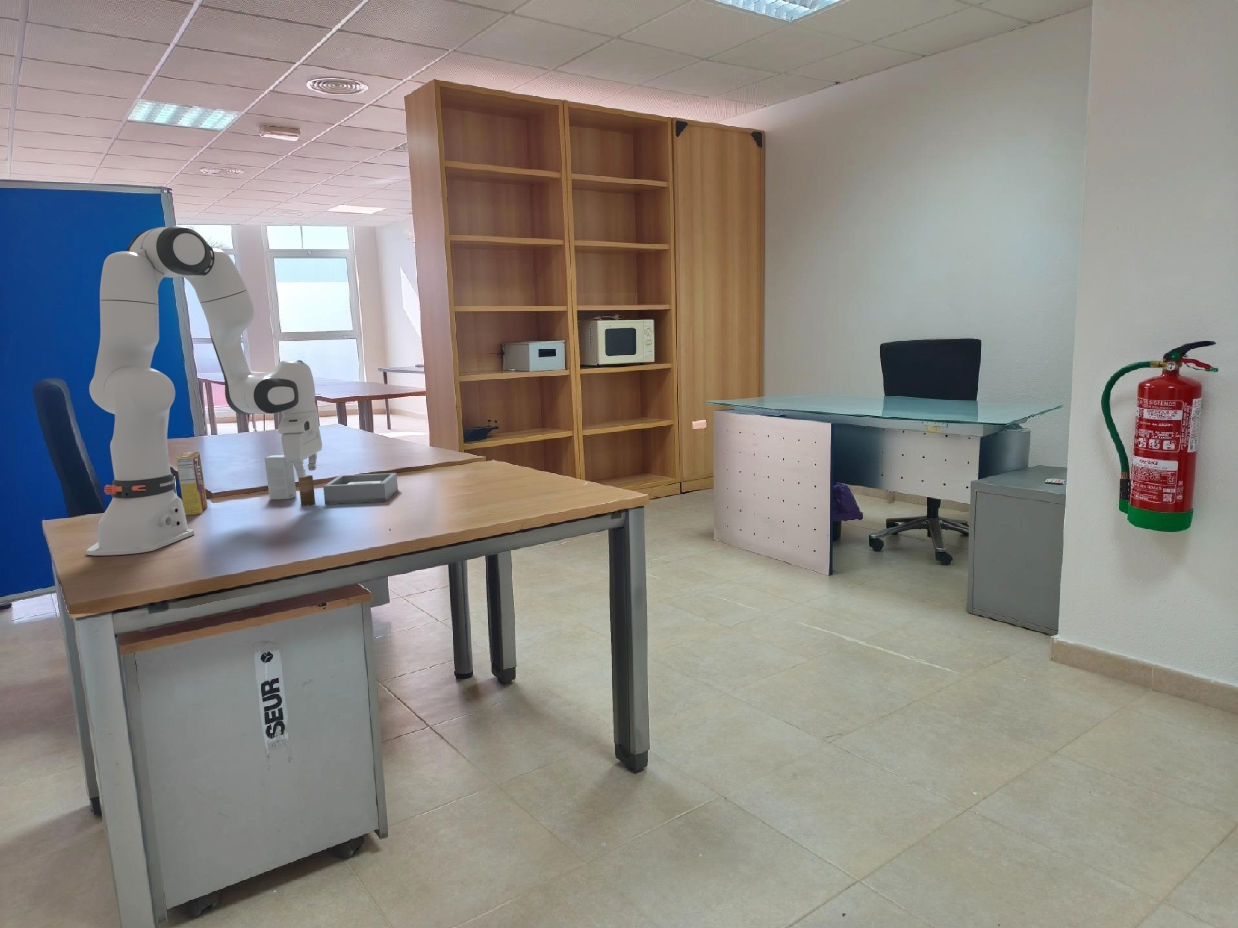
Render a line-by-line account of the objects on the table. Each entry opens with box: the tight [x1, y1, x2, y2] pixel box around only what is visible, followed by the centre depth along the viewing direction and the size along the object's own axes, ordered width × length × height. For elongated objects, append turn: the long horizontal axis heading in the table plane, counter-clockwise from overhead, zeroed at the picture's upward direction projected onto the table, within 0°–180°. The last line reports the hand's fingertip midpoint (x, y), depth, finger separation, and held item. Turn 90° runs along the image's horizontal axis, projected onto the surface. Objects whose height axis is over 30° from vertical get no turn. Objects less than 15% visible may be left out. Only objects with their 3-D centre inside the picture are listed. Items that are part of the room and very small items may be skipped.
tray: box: [322, 472, 399, 505], centre depth 220 cm, size 16×16×5 cm
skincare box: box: [264, 454, 297, 501], centre depth 222 cm, size 6×4×12 cm
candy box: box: [175, 451, 208, 516], centre depth 207 cm, size 9×4×15 cm, turn 17°
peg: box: [297, 474, 316, 506], centre depth 213 cm, size 4×4×8 cm
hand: (307, 473), depth 212 cm, fingers open, 8 cm apart
